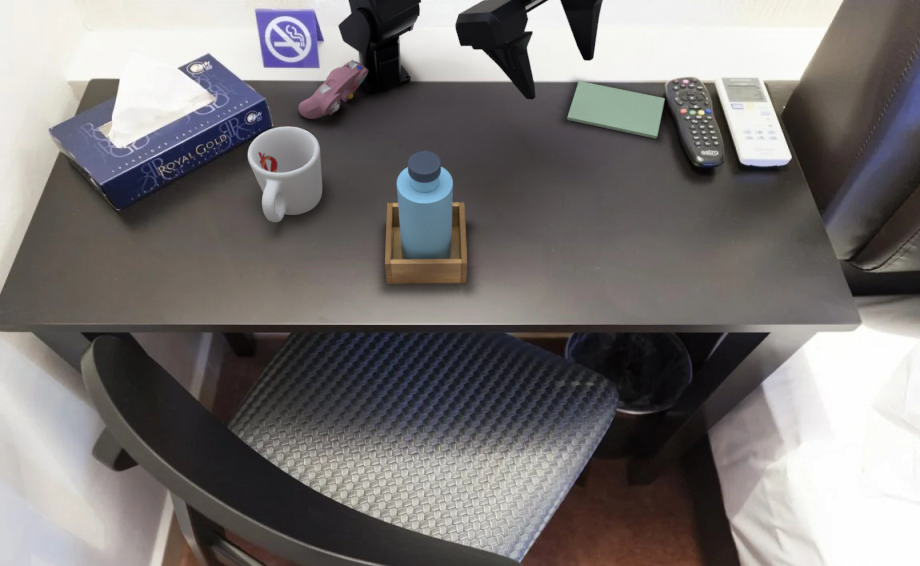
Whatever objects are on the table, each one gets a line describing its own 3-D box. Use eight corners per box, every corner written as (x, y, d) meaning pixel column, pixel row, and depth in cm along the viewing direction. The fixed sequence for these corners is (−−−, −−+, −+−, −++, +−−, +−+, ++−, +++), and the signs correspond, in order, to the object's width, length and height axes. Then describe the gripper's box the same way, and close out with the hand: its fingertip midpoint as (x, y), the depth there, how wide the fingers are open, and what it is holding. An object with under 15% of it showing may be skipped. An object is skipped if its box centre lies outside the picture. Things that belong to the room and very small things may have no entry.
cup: (310, 247, 77) (297, 199, 70) (244, 236, 77) (226, 187, 71) (337, 181, 82) (328, 130, 76) (276, 171, 83) (261, 120, 76)
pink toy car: (320, 136, 89) (333, 106, 83) (293, 113, 88) (304, 81, 82) (363, 96, 94) (378, 65, 88) (338, 73, 93) (352, 41, 87)
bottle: (393, 243, 76) (385, 153, 65) (437, 226, 77) (436, 135, 66) (415, 278, 73) (410, 190, 62) (459, 260, 75) (463, 171, 63)
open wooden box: (387, 287, 74) (384, 263, 70) (389, 227, 78) (387, 202, 75) (465, 286, 74) (467, 263, 70) (463, 227, 79) (464, 202, 75)
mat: (566, 120, 89) (567, 117, 89) (578, 83, 93) (578, 80, 93) (656, 139, 87) (657, 136, 87) (663, 101, 92) (665, 98, 91)
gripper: (517, -63, 51) (560, 127, 60) (662, -139, 58) (680, 40, 67) (429, -47, 59) (478, 118, 68) (565, -116, 66) (593, 41, 75)
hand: (560, 78), depth 69 cm, fingers open, 9 cm apart
